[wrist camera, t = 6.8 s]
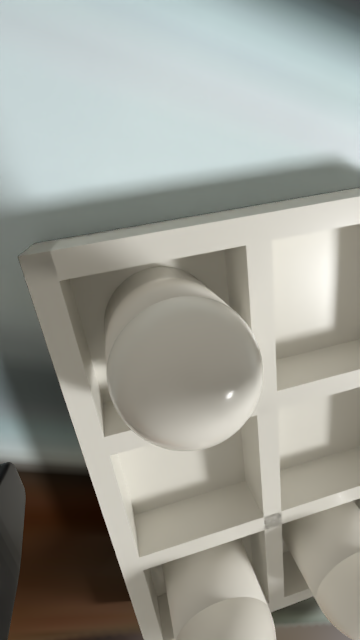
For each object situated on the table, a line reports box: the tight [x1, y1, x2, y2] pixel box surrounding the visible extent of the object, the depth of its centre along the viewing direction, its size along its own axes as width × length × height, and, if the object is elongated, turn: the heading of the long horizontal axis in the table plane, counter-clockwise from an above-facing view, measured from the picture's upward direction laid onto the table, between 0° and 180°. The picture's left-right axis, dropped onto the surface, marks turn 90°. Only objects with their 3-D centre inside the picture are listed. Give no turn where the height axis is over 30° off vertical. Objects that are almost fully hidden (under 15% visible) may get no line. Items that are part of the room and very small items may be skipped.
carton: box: [18, 188, 360, 640], centre depth 16 cm, size 24×16×8 cm
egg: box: [104, 267, 263, 451], centre depth 12 cm, size 5×5×7 cm
